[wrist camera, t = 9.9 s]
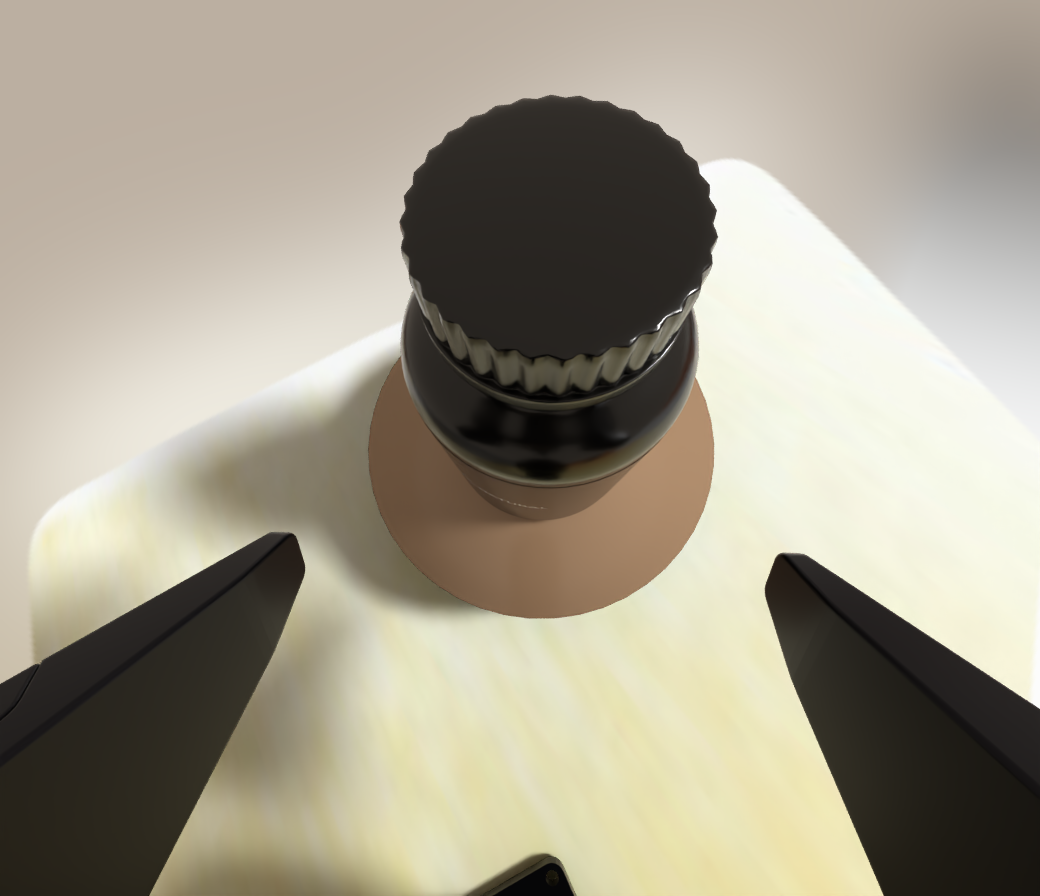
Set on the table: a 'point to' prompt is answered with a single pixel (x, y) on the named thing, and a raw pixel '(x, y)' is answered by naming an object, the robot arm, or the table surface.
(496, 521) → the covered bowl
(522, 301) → the supplement bottle
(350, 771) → the table surface
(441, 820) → the table surface
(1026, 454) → the table surface
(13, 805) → the robot arm
